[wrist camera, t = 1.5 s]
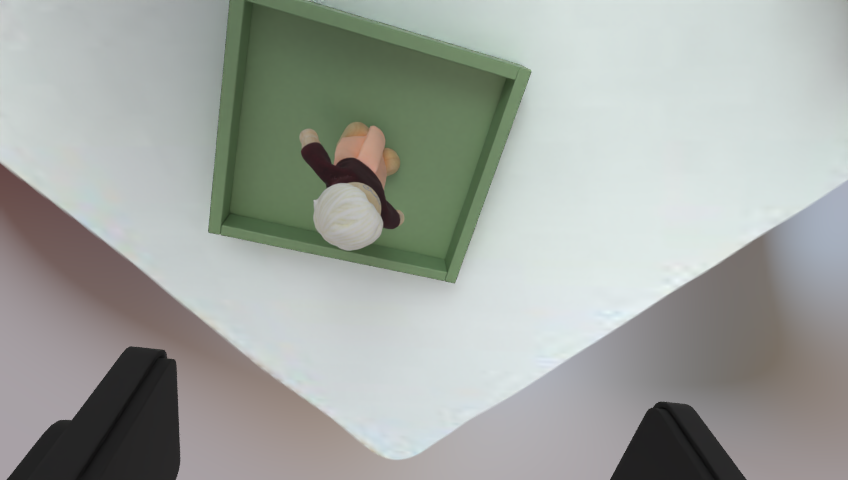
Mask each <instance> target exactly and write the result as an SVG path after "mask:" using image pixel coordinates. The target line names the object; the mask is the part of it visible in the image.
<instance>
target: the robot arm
mask: <svg viewBox="0 0 848 480" xmlns="http://www.w3.org/2000/svg"><path fill="white" fill-rule="evenodd" d="M178 418H179V417H178V394H177V368H176V361H175V360H174V359H167V354H166V352H165V350H160V349H150V348H141V347H128V348H127V349H126V350H125V351H124V352H123V353H122V354H121V356H120V357H119V358H118V360H117V361H116V362H115V364H114V365H113V366H112V368H111V369H110V370H109V372H108V373H107V374H106V376H105V377H104V378H103V380H102V381H101V382H100V384H99V385H98V386H97V388H96V389H95V390H94V392H93V393H92V394H91V396H90V397H89V398H88V400H87V401H86V402H85V404H84V405H83V406H82V407H81V409H80V410H79V412H78V413H77V414H76V415H75V417H74V418H73V419H72V420H60V421H57V422H56V423H54V424H53V425H51V426H50V427H49V428H48V429H47V431H45V433H44V434H43V435H42V436H41V438H40V439H39V440H38V441H37V442H36V444H35V445H34V446H33V447H32V449H31V450H30V451H29V452H28V454H27V455H26V456H25V458H24V459H23V460H22V461H21V463H20V464H19V465H18V466H17V468H16V469H15V470H14V471H13V473H12V474H11V475H10V476H9V478H8V479H7V480H176V477H177V474H178V471H179V466H180V443H179V419H178ZM610 480H746V479H745V477H744V476H743V474H742V473H741V472H740V470H739V469H738V468H737V466H736V465H735V464H734V462H733V461H732V459H731V458H730V457H729V455H728V454H727V453H726V451H725V450H724V449H723V447H722V446H721V445H720V443H719V442H718V441H717V439H716V438H715V437H714V435H713V434H712V433H711V431H710V430H709V429H708V427H707V426H706V425H705V423H704V422H703V420H702V419H701V418H700V416H699V415H698V414H697V412H696V411H695V410H694V409H693V408H692V407H691V406H689V405H687V404H680V403H670V402H658V403H656V404H655V406H654V407H653V408H651V409H649V410H648V411H647V412H646V414H645V416H644V418H643V420H642V421H641V423H640V425H639V427H638V429H637V431H636V433H635V434H634V436H633V438H632V440H631V442H630V444H629V446H628V448H627V449H626V451H625V453H624V455H623V457H622V459H621V461H620V462H619V464H618V466H617V468H616V470H615V472H614V473H613V475H612V477H611V479H610Z"/></svg>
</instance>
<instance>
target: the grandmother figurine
mask: <svg viewBox="0 0 848 480" xmlns="http://www.w3.org/2000/svg"><path fill="white" fill-rule="evenodd" d="M299 139H300V142H301V144H302V150H301V155H302V157H303V159H304V160H305V162H306V163H307V164H308V165H309V166H310V167H311V168H312V169H313V170H314V172H315V173H316V174H317V175H318V177H319V178H320V179H321V180H322V181H323V182H324V183H325V184H326V188H327V189H325V190H324V191H323V192H322V194H321V195H320V197H319V198H318V199H317V200H313V201H314V215H313V220H314V224H315V228H316V229H317V231H318V232H319V233H320V234H321V235H322V237H323V238H324V240H326V241H327V242H329V243H330V244H332V245H335V246H337V247H339V248H340V249H343V250H347V251H351V250H357V249H361V248H363V247H365V246H368V245H370V244H371V243H373V242H374V241H375V240H377V238H379V236H380V235H381V232H382V229H383V228H386V229H394V228H396V227H398V226H400V225H401V224H402V223H403V222H404V214H403V213H402V212H401V211H400V210H396V209H395V208H394V207H393V206H392V205H391V204H390V203H389V202H388V201H387V200H386V197H385V192H384V187H385V183H386V177H387V176H389V175H392V174H394V173H396V172H397V171H398V169H399V167H400V159H399V156H398V155H397V153H396V152H395V151H394V150H392V149H390V148H384V147H385V141H386V140H385V136H384V134H383V132H382V131H381V130H380V129H379V128H377V127H376V126H370V128H368V127H367V126H366V125H365V124H363V123H361V122H353V123H351V124H349V125H348V126H347V127H346V129H345V130H344V132H343V134H342V135H341V137H340V139H339V141H338V142H337V145H336V151H335V159H334V165H333V164H332V163H331V159H330V157H329V155H328V153H327V152H326V150H325V149H324V147H323V146H322V145H321V143H320V141H319V138H318V135H317V133H316V132H315V131H314V130H313V129H304V130H303V131H302V132H301V133H300V136H299Z"/></svg>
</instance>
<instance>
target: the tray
mask: <svg viewBox="0 0 848 480" xmlns="http://www.w3.org/2000/svg"><path fill="white" fill-rule="evenodd" d="M530 74H531V70H530V69H528V68H526V67H524V66H522V65H519V64H516V63H513V62H509V61H506V60H503V59H499V58H496V57H493V56H489V55H486V54H483V53H479V52H476V51H473V50H469V49H466V48H463V47H460V46H456V45H453V44H450V43H446V42H443V41H440V40H436V39H433V38H430V37H426V36H423V35H420V34H416V33H413V32H410V31H407V30H403V29H400V28H397V27H393V26H390V25H387V24H383V23H380V22H377V21H373V20H370V19H367V18H364V17H360V16H357V15H354V14H350V13H347V12H344V11H340V10H337V9H334V8H330V7H327V6H324V5H320V4H317V3H314V2H311V1H307V0H230V1H229V12H228V23H227V33H226V44H225V55H224V66H223V77H222V88H221V99H220V109H219V120H218V131H217V142H216V153H215V164H214V175H213V185H212V196H211V207H210V218H209V229H208V232H209V233H213V234H218V235H220V234H221V235H223V236H228V237H233V238H238V239H243V240H247V241H252V242H257V243H262V244H267V245H272V246H277V247H282V248H286V249H291V250H296V251H301V252H306V253H311V254H316V255H320V256H325V257H330V258H335V259H340V260H345V261H350V262H355V263H359V264H364V265H369V266H374V267H379V268H384V269H389V270H394V271H398V272H403V273H408V274H413V275H418V276H423V277H428V278H432V279H437V280H442V281H444V280H445V281H446V282H451V283H455V281H456V279H457V276H458V273H459V270H460V268H461V265H462V262H463V259H464V256H465V254H466V251H467V248H468V245H469V243H470V240H471V237H472V234H473V232H474V229H475V226H476V223H477V221H478V218H479V215H480V212H481V210H482V207H483V204H484V201H485V198H486V196H487V193H488V190H489V187H490V185H491V182H492V179H493V176H494V174H495V171H496V168H497V165H498V163H499V160H500V157H501V154H502V152H503V149H504V146H505V143H506V140H507V138H508V135H509V132H510V129H511V127H512V124H513V121H514V118H515V116H516V113H517V110H518V107H519V105H520V102H521V99H522V96H523V93H524V91H525V88H526V85H527V82H528V80H529V77H530ZM353 122H361V123H363V124H365V125H366V126H367V127H368V128H370V126H376V127H377V128H379V129H380V130H381V131H382V132H383V134H384V136H385V140H386V141H385V147H384V148H390V149H392V150H394V151H395V152H396V153H397V155H398V156H399V159H400V167H399V169H398V171H397V172H396V173H394V174H392V175H389V176H387V177H386V183H385V187H384V192H385V197H386V200H387V201H388V202H389V203H390V204H391V205H392V206H393V207H394V208H395V209H396V210H400V211H401V212H402V213H403V214H404V222H403V223H402V224H401V225H400V226H398V227H396V228H394V229H386V228H383V229H382V232H381V235H380V236H379V238H377V240H375V241H374V242H373V243H371V244H370V245H368V246H365V247H363V248H361V249H357V250H351V251H347V250H343V249H340V248H339V247H337V246H335V245H332V244H330V243H329V242H327V241H326V240H324V238H323V237H322V235H321V234H320V233H319V232H318V231H317V229H316V228H315V224H314V220H313V215H314V201H313V200H317V199H318V198H319V197H320V195H321V194H322V192H323V191H324V190H325V189H327V188H326V184H325V183H324V182H323V181H322V180H321V179H320V178H319V177H318V175H317V174H316V173H315V172H314V170H313V169H312V168H311V167H310V166H309V165H308V164H307V163H306V162H305V160H304V159H303V157H302V155H301V150H302V144H301V142H300V139H299V136H300V133H301V132H302V131H303V130H304V129H313V130H314V131H315V132H316V133H317V135H318V138H319V141H320V143H321V145H322V146H323V147H324V149H325V150H326V152H327V153H328V155H329V157H330V159H331V163H332V164H333V165H334V159H335V151H336V145H337V142H338V141H339V139H340V137H341V135H342V134H343V132H344V130H345V129H346V127H347V126H348V125H349V124H351V123H353Z"/></svg>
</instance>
